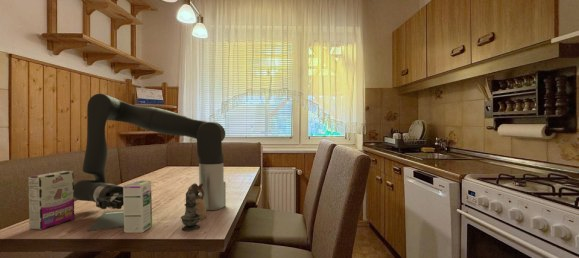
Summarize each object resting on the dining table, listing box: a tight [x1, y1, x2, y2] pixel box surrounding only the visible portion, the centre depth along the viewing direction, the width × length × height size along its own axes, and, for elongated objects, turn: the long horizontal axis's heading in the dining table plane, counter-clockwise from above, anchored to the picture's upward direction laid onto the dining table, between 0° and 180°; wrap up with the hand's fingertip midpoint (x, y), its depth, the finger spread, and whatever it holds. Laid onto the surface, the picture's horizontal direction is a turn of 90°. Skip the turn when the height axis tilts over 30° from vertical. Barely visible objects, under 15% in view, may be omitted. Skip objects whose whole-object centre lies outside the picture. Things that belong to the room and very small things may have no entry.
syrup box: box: [122, 180, 153, 234], centre depth 88 cm, size 6×6×14 cm
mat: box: [87, 209, 124, 232], centre depth 98 cm, size 20×11×1 cm, turn 20°
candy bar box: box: [27, 170, 75, 231], centre depth 94 cm, size 11×5×16 cm, turn 168°
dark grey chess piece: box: [180, 189, 201, 232], centre depth 90 cm, size 6×6×12 cm
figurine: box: [184, 183, 207, 222], centre depth 99 cm, size 7×7×12 cm
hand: (135, 202), depth 89 cm, fingers open, 8 cm apart
